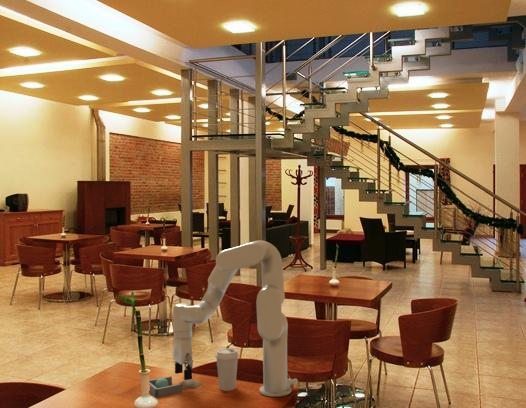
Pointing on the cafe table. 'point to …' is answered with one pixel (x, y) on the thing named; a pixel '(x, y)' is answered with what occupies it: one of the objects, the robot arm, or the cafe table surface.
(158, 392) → the tray
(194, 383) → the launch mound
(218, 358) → the coffee cup
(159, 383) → the ball
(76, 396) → the cafe table surface
